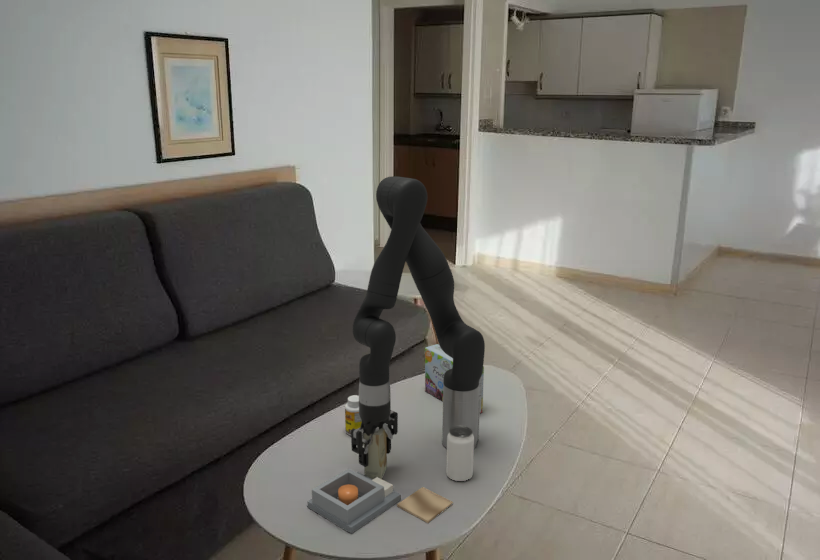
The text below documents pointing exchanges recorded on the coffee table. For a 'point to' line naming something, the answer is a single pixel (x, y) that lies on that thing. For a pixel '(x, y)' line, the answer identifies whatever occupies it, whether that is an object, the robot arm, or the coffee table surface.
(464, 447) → the can
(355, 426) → the supplement bottle
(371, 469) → the skincare box
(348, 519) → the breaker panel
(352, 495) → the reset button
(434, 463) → the coffee table surface
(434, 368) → the snack box
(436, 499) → the cork coaster
